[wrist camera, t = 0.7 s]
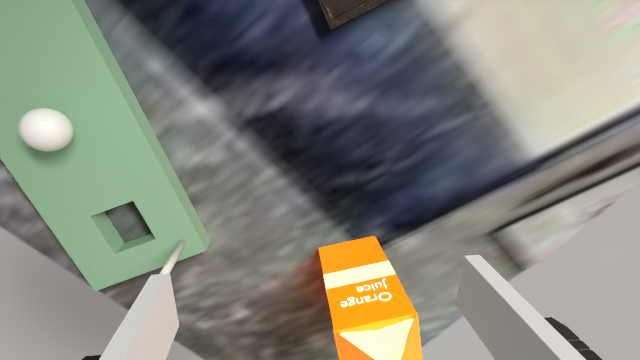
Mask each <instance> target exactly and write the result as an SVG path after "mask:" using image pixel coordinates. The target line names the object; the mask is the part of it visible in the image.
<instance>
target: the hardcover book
mask: <svg viewBox="0 0 640 360" xmlns="http://www.w3.org/2000/svg"><path fill="white" fill-rule="evenodd" d="M318 1H319V4H320V6H321V8H322V11H323V13H324V15H325V18H326V20H327V22H328V25H329V27H330V29H331V30H332V29H334V28H336V27H338V26H339V25H341V24H343V23H345V22H347V21H349V20H351V19H353V18H355V17H357V16H359V15H361V14H362V13H364V12H366V11H368V10H370V9H372V8H374V7H376V6H378V5H380V4H382V3H384V2H385V1H387V0H318Z"/></svg>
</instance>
